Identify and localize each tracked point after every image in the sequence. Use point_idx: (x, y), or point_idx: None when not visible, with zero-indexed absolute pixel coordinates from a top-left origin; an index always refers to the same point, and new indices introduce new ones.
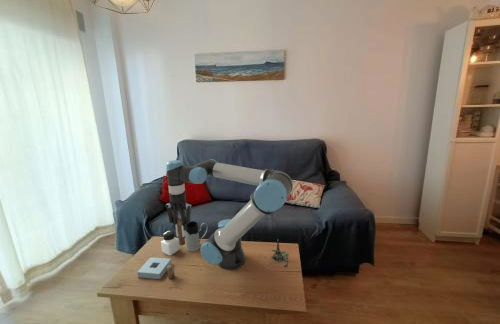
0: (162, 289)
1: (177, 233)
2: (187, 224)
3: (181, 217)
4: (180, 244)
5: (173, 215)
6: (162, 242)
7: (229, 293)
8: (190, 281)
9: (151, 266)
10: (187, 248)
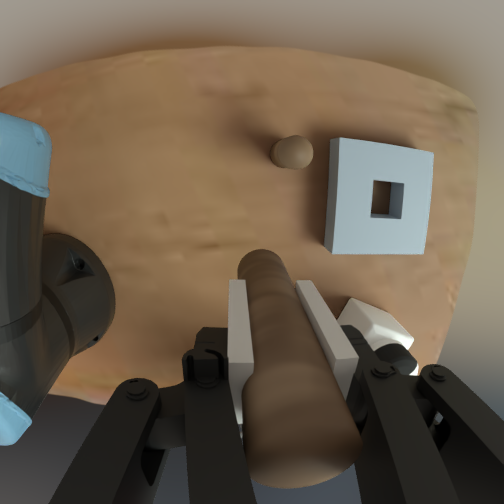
0: (288, 80)
1: (306, 294)
2: None
3: (247, 491)
4: (266, 251)
5: (450, 480)
6: (406, 336)
7: (26, 113)
8: (181, 136)
9: (398, 200)
10: None
